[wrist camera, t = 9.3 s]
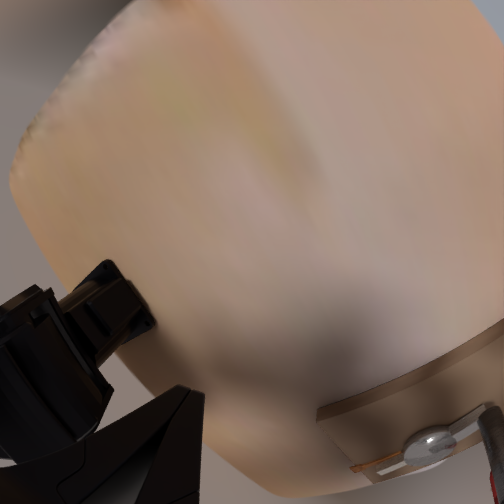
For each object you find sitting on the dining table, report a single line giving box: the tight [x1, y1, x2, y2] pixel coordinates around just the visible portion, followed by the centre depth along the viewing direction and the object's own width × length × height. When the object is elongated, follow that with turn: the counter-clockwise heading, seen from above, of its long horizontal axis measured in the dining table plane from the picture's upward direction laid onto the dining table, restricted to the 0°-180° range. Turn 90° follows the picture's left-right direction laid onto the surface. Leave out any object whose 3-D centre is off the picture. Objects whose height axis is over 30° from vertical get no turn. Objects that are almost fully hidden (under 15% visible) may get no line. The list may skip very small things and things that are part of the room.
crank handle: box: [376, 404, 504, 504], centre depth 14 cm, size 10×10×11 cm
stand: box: [316, 319, 504, 484], centre depth 20 cm, size 19×14×2 cm
